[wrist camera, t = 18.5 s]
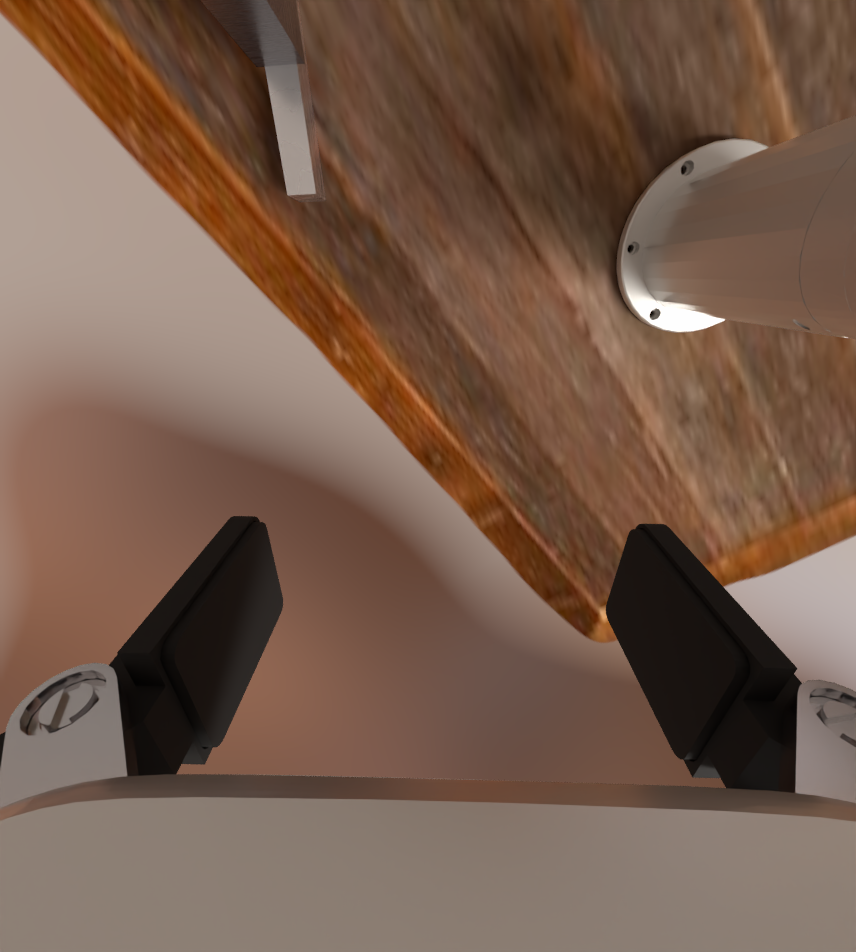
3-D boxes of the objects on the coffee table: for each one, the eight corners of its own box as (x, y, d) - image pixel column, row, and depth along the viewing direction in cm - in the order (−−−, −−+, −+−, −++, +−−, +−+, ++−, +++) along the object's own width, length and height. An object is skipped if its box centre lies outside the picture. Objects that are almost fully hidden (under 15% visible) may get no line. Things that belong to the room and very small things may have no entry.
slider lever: (287, -142, 22) (189, -426, 13) (333, 200, 29) (289, 168, 20) (236, -138, 22) (103, -416, 13) (294, 203, 29) (234, 172, 21)
